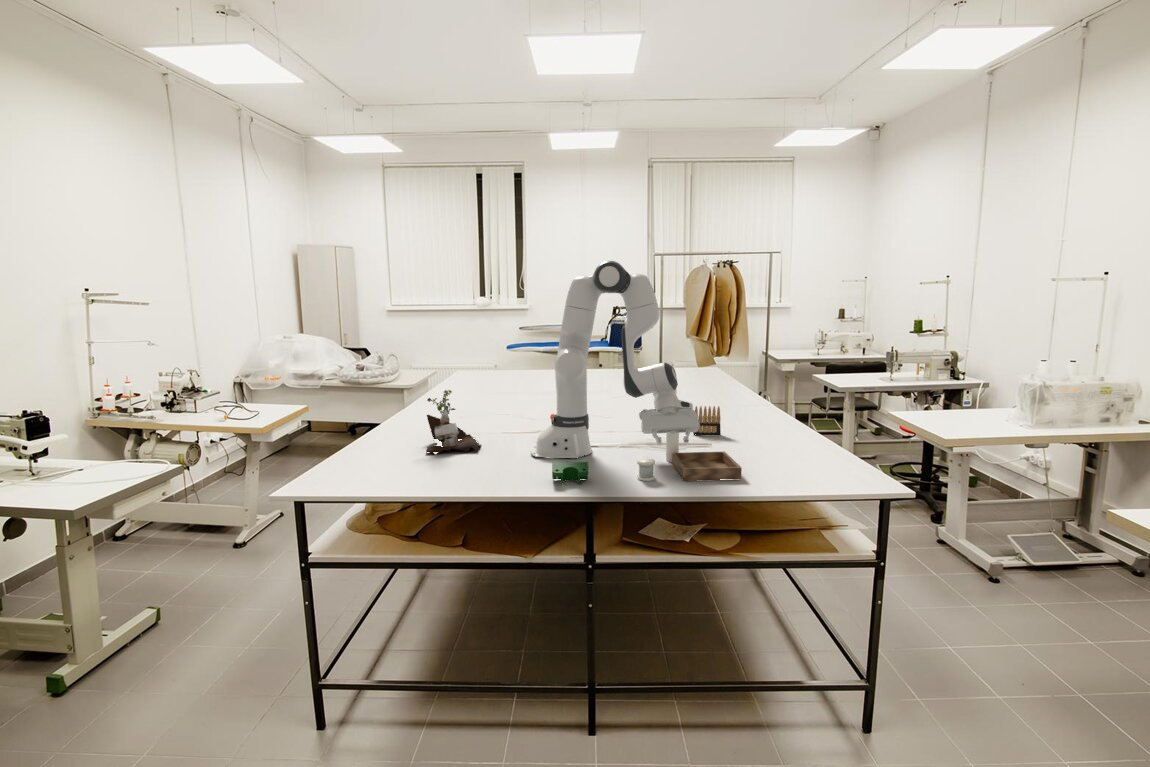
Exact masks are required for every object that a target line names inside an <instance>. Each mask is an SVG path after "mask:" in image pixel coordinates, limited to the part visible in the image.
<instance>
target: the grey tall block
mask: <svg viewBox="0 0 1150 767" xmlns="http://www.w3.org/2000/svg"><path fill="white" fill-rule="evenodd" d="M665 436H666V443H665V444H666V447H665V450H666V451H665V461H666V462H667V463H671V462H672V453H680V452H679V451H680V440H679V439H680V433H679V432H676V431H675V430H671V431H669V432H667V433H666V435H665Z"/></svg>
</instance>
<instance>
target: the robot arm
mask: <svg viewBox="0 0 1150 767" xmlns="http://www.w3.org/2000/svg"><path fill="white" fill-rule="evenodd" d="M568 289H569V290H568V292H567V295H566V300H565V305H564V311H563V317H562V322H561V328H560V335H559V343H558V347H557V355H556V357H555V360H554V370H555V371H554V373H555V391H556V414H555V413H551V414H550V415H549V416H550V417H549V418H550V420H551V425H549V426H548V427H547V428H546V429H545V430H543V431H542V432H540V434H539V435H538V436H537V441H536V444H535V445H534V446H532V448H531V449H530V455H531V454H532V455H533V456H535V457H553V458H577V457H579V456H581V457H585V456H588V455H590V454H592V452H593V450H592V445H591V442H590V435H589V427H590V418H589V417H590V416H589V413H588V378H587V377H588V376H587V374H588V373H587V372H588V371H587V370H588V369H587V367H588V366H587V361H588V356H589V355H588V354H589V350H590V345H591V338H592V334H593V329H594V325H595V324H594V323H595V317H596V314H597V312H596V311H597V305H598V302H599V298H600V296H601V295H602V294H619V295H620V296H621V298H622V299H623V302H624V306H625V310H626V316H627V317H626V322H625V324H624V325H623V326H622V328H621V351H622V363H623V364H622V366H623V388H624V390H625V393H626V394H627V395H629V396H631V397H632V398H635V399H636V398H637V399H638V398H640V397H642V396H645V395H649V394H652V396H653V399H654V400H653V405H654V408H651V409H648V408H645V409H642V410H640V411H639V413H638V417H639V419H640V420H641V425H640V426H641V433H643V434H644V435H645V434H647V435H649V434H651V435H652V437H653V438H654V439H655V441H656V445H660V444H662V437H661V436H659V435H658V434H667V432H669V431H671V430H675V431H676V432H679V434H681V433H685V435H684V436H683V438H682V441H683V443H684V444H685V443H686V444H688V443H689V440H690V438H689V436H690V434H691V433H693V432H697V431H698V429H699V426H700V424H699V416H698V417H697V414H696V412H695V409H693V407H694V405H693V403H692V402H689V401H685V400H682V399H679V397H678V395H677V388H678V384H679V383H678V379H677V373H676V370H675V368H674V367H673V366H672V365H671V364H670V363H667V362H661V363H659V362H658V363H655V364H652V365H649V366H643V367H639V368H637V367H636V362H635V349H634V346H635V343H636V342H637V340H638V339H639V338H640V337H642V336H643V335H645V334H647V332H649V331H650V330H652V329H653V328H654V327H655V326H656V325H657V323H658V322H659V319H660V309H659V305H658V300H657V296H656V293H655V291H654V288H653V285H652V284H651V281H650V278H648V276H647V275H645V274H642V273H636V274H630V273H629V272H628V271H627V270H626V269H625V268H624V267H623V265H622V264H620V263H619V262H618V261H615V260H605V261H602V262H601V263H600V264H598V265H597V267H595V270H594V273H593V274H592V275H590V276H587V275H582V276H581V275H580V276H576V277H574V279H573V280H572V281H571V283H570V285H569V288H568ZM584 455H585V456H584ZM553 458H552V459H553ZM579 458H580V457H579ZM577 459H578V458H577Z"/></svg>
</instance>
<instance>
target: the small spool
mask: <svg viewBox="0 0 1150 767" xmlns="http://www.w3.org/2000/svg"><path fill="white" fill-rule="evenodd" d="M636 464H637V465H638V474H637V476H636V478H638V479H639V480H638V479H637V480H638V481H640V480H643V481H642V482H652V481H651V480H653V481H655V480H656V475H655V474H654V465H656V459H653V458H648V457H647V458H646V457H644V458H639V459H637V461H636ZM654 479H655V480H654Z"/></svg>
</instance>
